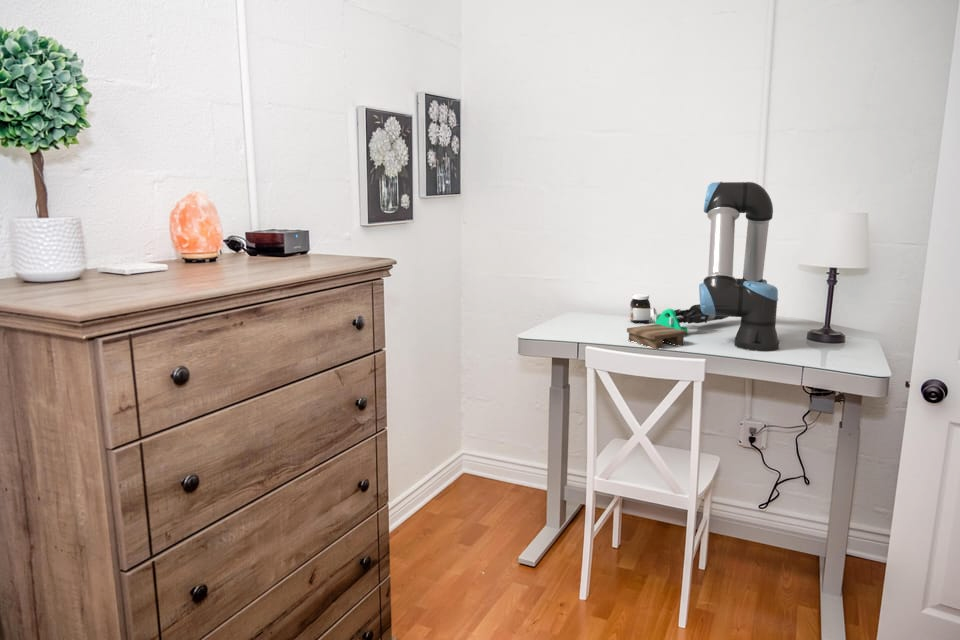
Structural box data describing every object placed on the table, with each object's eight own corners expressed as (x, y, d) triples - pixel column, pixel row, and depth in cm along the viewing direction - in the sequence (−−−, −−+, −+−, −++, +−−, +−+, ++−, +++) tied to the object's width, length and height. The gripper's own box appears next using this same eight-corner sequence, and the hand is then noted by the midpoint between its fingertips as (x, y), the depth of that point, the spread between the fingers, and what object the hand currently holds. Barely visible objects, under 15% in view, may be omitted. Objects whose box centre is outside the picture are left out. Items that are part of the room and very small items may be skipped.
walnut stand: (685, 344, 253) (685, 331, 252) (654, 349, 246) (654, 335, 245) (656, 336, 265) (657, 324, 264) (626, 341, 259) (627, 328, 258)
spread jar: (627, 319, 298) (628, 293, 296) (653, 319, 299) (654, 293, 296) (635, 325, 286) (636, 298, 284) (661, 325, 287) (663, 297, 285)
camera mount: (688, 334, 271) (689, 308, 269) (681, 337, 265) (682, 311, 263) (658, 330, 278) (660, 305, 276) (651, 333, 272) (652, 308, 270)
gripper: (721, 326, 273) (682, 333, 261) (682, 318, 289) (643, 324, 277) (722, 307, 272) (683, 314, 259) (683, 300, 288) (644, 306, 276)
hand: (662, 319), depth 268 cm, fingers open, 7 cm apart
